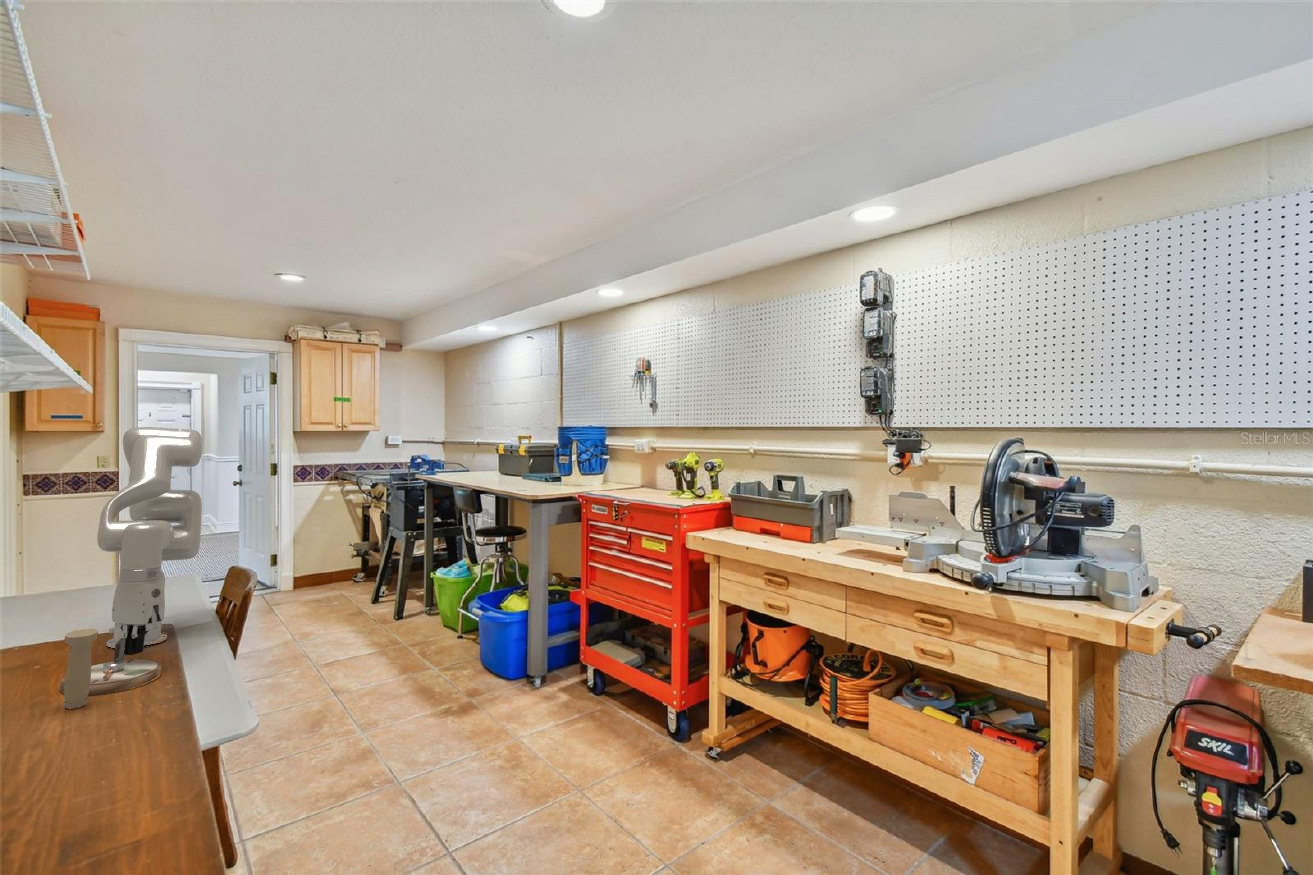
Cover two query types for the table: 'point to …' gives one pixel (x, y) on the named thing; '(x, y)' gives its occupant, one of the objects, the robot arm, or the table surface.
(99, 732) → the table surface
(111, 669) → the dial pointer
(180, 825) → the table surface
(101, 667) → the base
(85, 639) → the handle
